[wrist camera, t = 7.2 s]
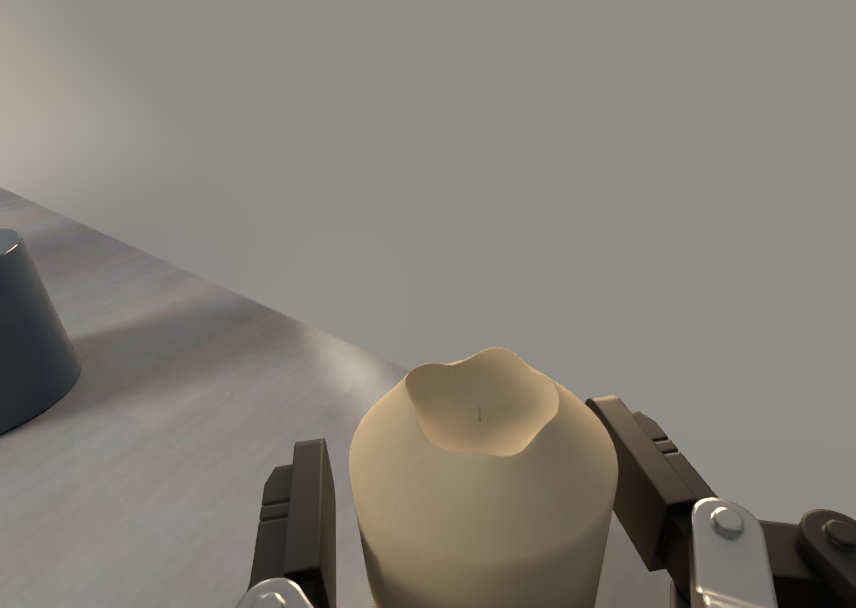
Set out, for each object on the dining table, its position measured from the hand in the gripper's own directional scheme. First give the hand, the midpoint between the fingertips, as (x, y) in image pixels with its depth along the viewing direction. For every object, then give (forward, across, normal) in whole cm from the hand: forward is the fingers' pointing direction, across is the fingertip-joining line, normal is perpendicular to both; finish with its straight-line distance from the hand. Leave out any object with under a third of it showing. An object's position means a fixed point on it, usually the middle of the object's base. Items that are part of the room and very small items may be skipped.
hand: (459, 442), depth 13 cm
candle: (-2, 0, +7) cm, 7 cm away
